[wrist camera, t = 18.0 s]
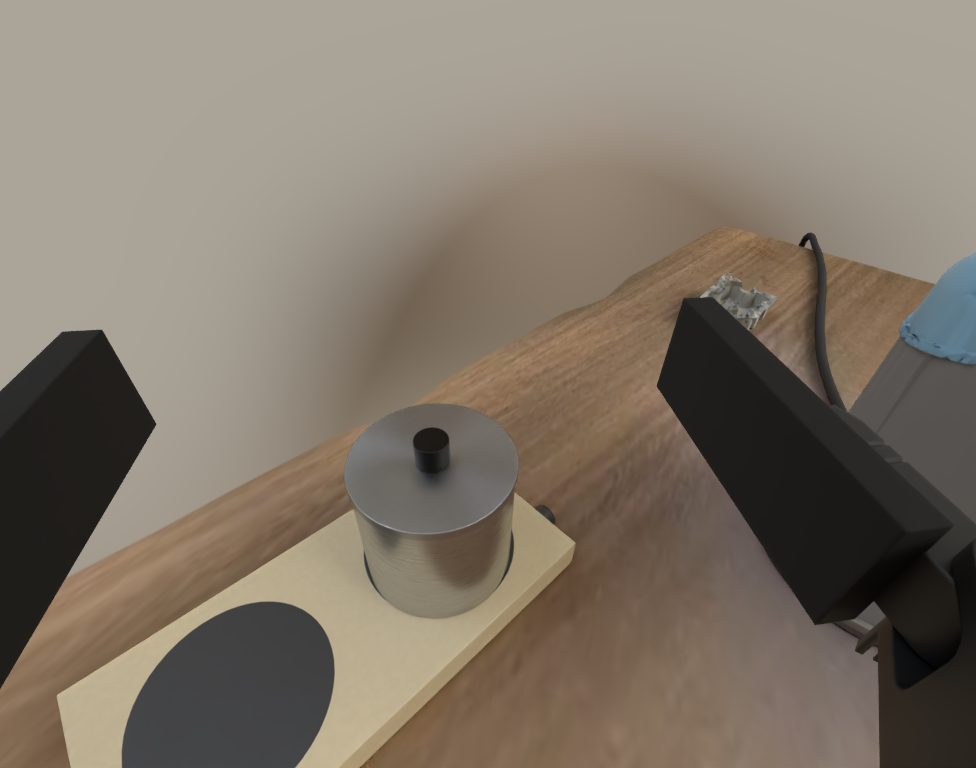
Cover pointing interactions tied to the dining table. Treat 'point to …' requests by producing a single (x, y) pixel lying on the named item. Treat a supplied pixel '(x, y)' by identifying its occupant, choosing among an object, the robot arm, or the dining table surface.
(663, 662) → the dining table surface
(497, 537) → the pot
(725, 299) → the egg carton
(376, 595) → the hot plate
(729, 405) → the robot arm
